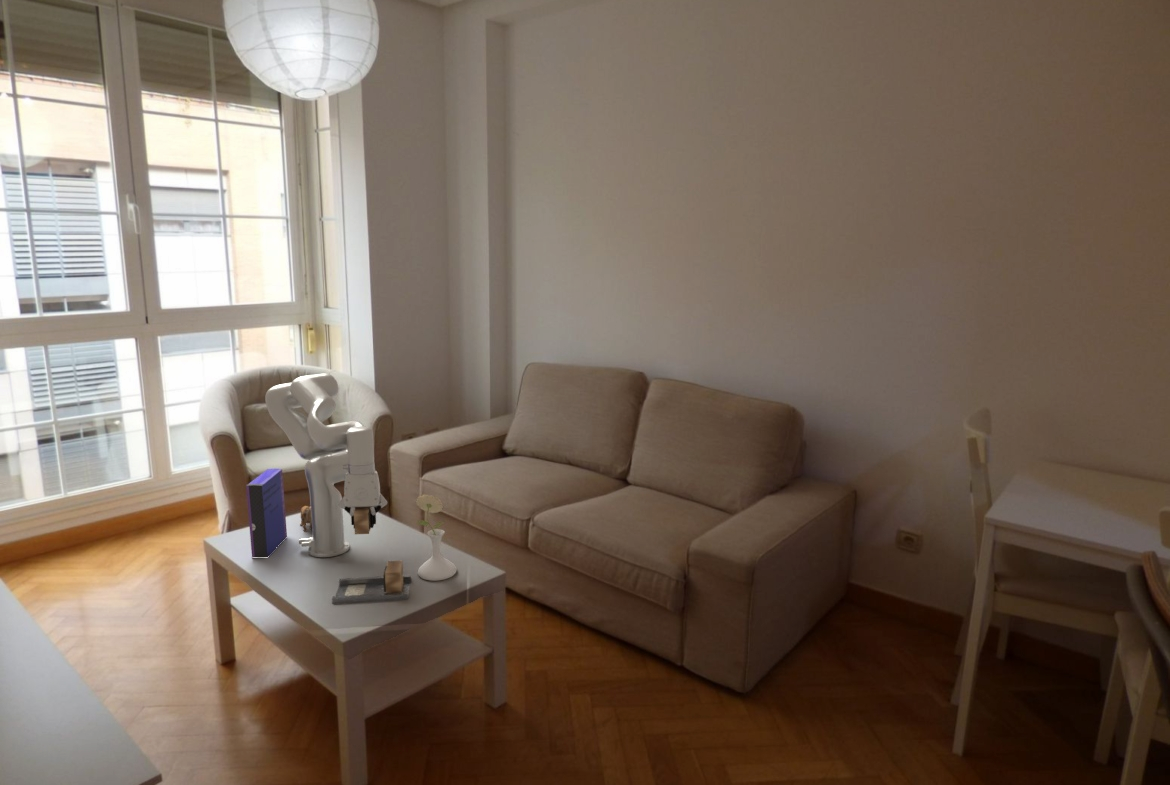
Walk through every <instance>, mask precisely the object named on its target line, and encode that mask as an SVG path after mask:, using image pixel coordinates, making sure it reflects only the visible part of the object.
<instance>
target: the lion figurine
mask: <svg viewBox="0 0 1170 785" xmlns="http://www.w3.org/2000/svg"><path fill="white" fill-rule="evenodd" d="M300 519H301V520H300V524H299V527H303V530H302V531H304V532H305V531H306V532H307V531H308V528H307V525H308V524H310V526H309V528H310V530H311V531H312V519H311V506H308V505H304V506H302V507H301V509H300ZM302 525H303V526H302Z"/></svg>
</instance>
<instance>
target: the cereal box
mask: <svg viewBox="0 0 1170 785" xmlns="http://www.w3.org/2000/svg"><path fill="white" fill-rule="evenodd" d="M245 489H246V501H247V511H248V512H247V513H248V523H249V524H248V525H249V537H250V538H249V539H250V548H251V558H252V557H268V556H269V555H270V554H271V553H272V552H273V551H274V550H275V549H276V547H278V545H279V544H280V543H281V542H282V541H283V540H284V539H285V538H286V537H287V538H288V534H287V533H288V532H287V519H286V506H285V505H286V504H285V503H286V502H285V490H284V478H283V469H282V468H267V469H266V470H265V471H263V472H262V473H260V475H258V476H257V477H255V478H254V479H253V480H252V481H250V482H249V483H248V484H246V485H245ZM287 538H286V539H287ZM286 539H285V540H286ZM285 540H284V541H285ZM284 541H283V542H284ZM283 542H282V543H283ZM282 543H281V544H282ZM281 544H280V545H281ZM280 545H279V546H280ZM278 548H279V547H278ZM276 550H277V549H276ZM276 550H275V551H276ZM275 551H274V552H275ZM274 552H273V553H274ZM273 553H272V554H273ZM272 554H271V555H272ZM271 555H270V556H271ZM270 556H269V557H270ZM269 557H268V558H269Z"/></svg>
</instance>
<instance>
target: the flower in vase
mask: <svg viewBox="0 0 1170 785" xmlns="http://www.w3.org/2000/svg"><path fill="white" fill-rule="evenodd" d="M441 501H442V500H441V499H439V498H438V497H434V495H432V494H431V495H429V494H422V496H420V495H419V496H418V497H416V502H415V504H416V505H417V507H418V508H419V509H420V510H422V511H424V512H427V513H426V520H424V519H420V520H418V521H417V522H416V525H421V526H423V527H427V526H429V527H430V530H428V531H427V535H428V536H429V538H430V540H431V545H432V554H431V557H430V558H428V559H427V560H426V561H425V562H424V563H422V564H421V565H420V567H419V568H418V569H417V570H418V571H417V575H418V577H420V578H421V579H422V580H426V581H434V582H436V581H438V582H439V581H442V580H443V581H444V580H447V579H450V578H452V577H453V576H454V575H456V573H457V567H456V565H455V563H453V562H452V561H450V560H449V559H447V558H445V557H444V556H443V554H442V552H441V542H442V539H443V536H444V535H445V530H443V529H438V528H440V527H441V526H442V525H443V524H444V523H445V521H440V522H436V524H435V525H434V526H433V527H432V525H431V523H430V521H429V514H430V513H431V514H435V513H437V514H438V513H439V512H440V513H441V512H442V510H443V507H444V504H443V503H442V502H441Z"/></svg>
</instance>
